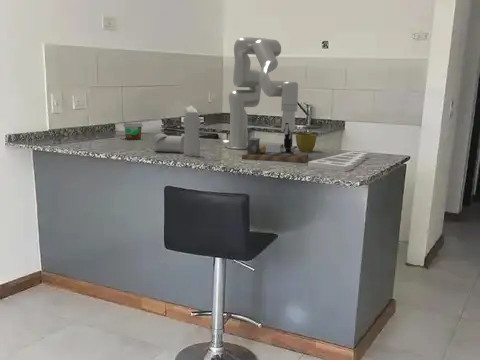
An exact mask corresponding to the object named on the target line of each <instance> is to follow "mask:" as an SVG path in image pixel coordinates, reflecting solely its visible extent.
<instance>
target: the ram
mask: <svg viewBox="0 0 480 360" xmlns="http://www.w3.org/2000/svg"><path fill="white" fill-rule="evenodd" d="M288 132H290V131H288ZM290 139H291V140H292V141H293V132H291V138H290ZM265 146H266V152H270V153H281V152H285V153H291V151H292V147H290V148H289V147H284V143H280V142H279V143H275V142H269V143H267V144H266V145H265Z"/></svg>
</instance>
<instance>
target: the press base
mask: <svg viewBox="0 0 480 360" xmlns="http://www.w3.org/2000/svg"><path fill="white" fill-rule="evenodd" d="M260 139H261V138H257V137H251V138H249V139H248V138H247V145H248V146H247V150H246V152H244V153H242V154H241V160H252V161H253V160H254V161H269V162H270V161H271V162H273V161H274V162H288V163H305V162H306V161H307V160H308V159H309V153H295V151H293V150H291V153H285V152H281V153H270V152H266V153H264V154H261V153H259V152H258V147H259V146H260Z"/></svg>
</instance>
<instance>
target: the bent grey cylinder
mask: <svg viewBox="0 0 480 360" xmlns="http://www.w3.org/2000/svg"><path fill="white" fill-rule="evenodd" d="M184 139H185V136H182V135H181V136H179V135H178V136H177V135H169V136H168V135H167V134H165V133H157V134H156V135H154V137H153V140H152V143H153V146H154V152H156V153H157V152H159V153H161V152H162V153H176V154H177V153H179V154H182V153H183V154H184Z"/></svg>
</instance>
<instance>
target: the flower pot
mask: <svg viewBox="0 0 480 360" xmlns="http://www.w3.org/2000/svg"><path fill="white" fill-rule="evenodd" d="M317 136H318V135H317V134H312V133H296V134H295V140H296V146H297V148H298V151H300V152H302V153H306V152H307V153H308V152H309V153H311V152H313V151H314V149H315V146H316V143H317V142H316V141H317Z"/></svg>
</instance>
